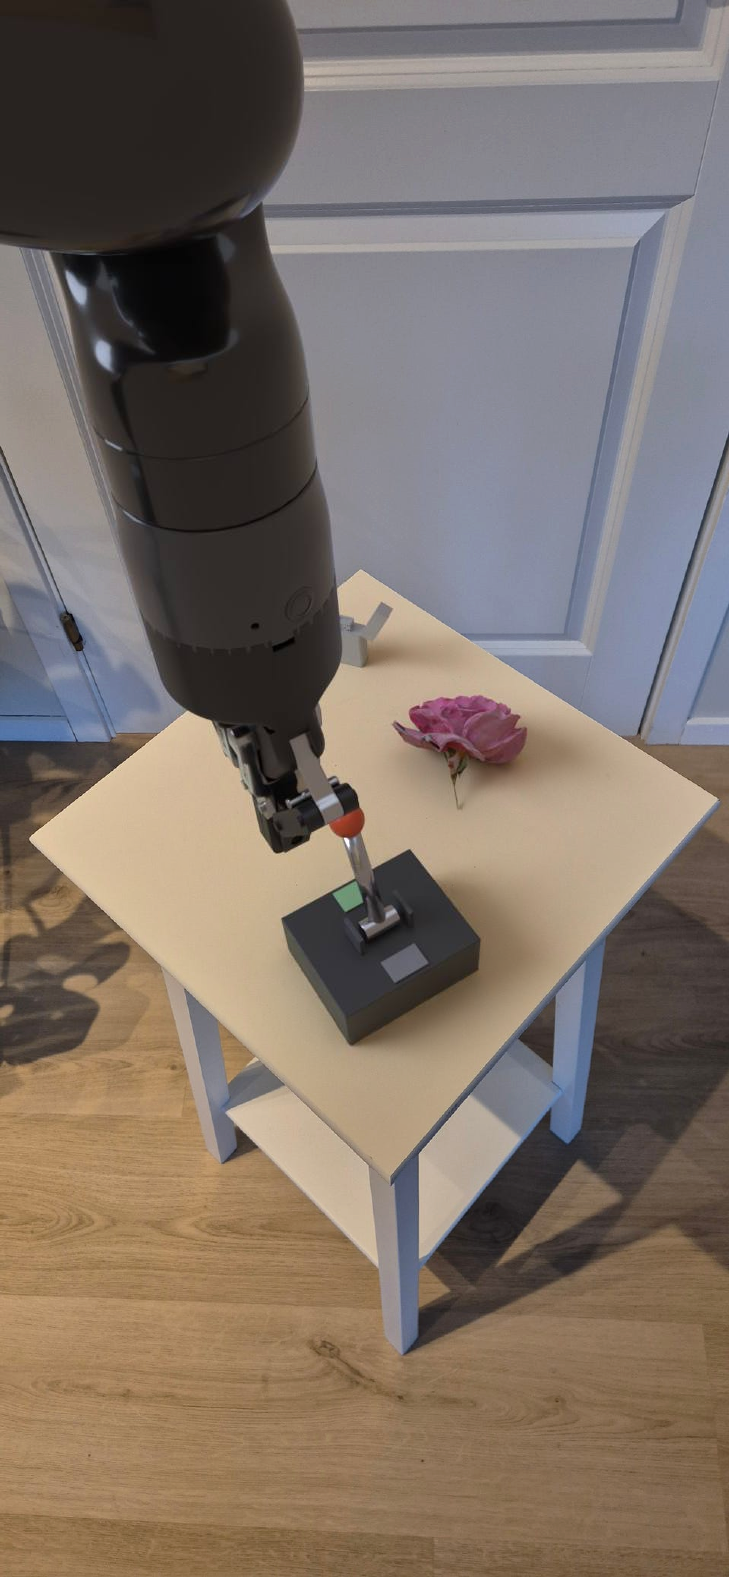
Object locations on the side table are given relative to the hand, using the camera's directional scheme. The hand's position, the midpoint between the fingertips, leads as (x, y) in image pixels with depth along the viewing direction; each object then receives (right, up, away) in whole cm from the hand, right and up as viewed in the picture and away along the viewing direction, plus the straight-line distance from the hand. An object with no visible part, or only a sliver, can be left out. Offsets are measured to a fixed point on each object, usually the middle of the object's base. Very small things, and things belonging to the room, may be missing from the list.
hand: (287, 837), depth 51 cm
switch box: (+5, -11, +30) cm, 33 cm away
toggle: (+5, -8, +26) cm, 28 cm away
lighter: (+4, +15, +51) cm, 53 cm away
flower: (+13, +5, +43) cm, 45 cm away
